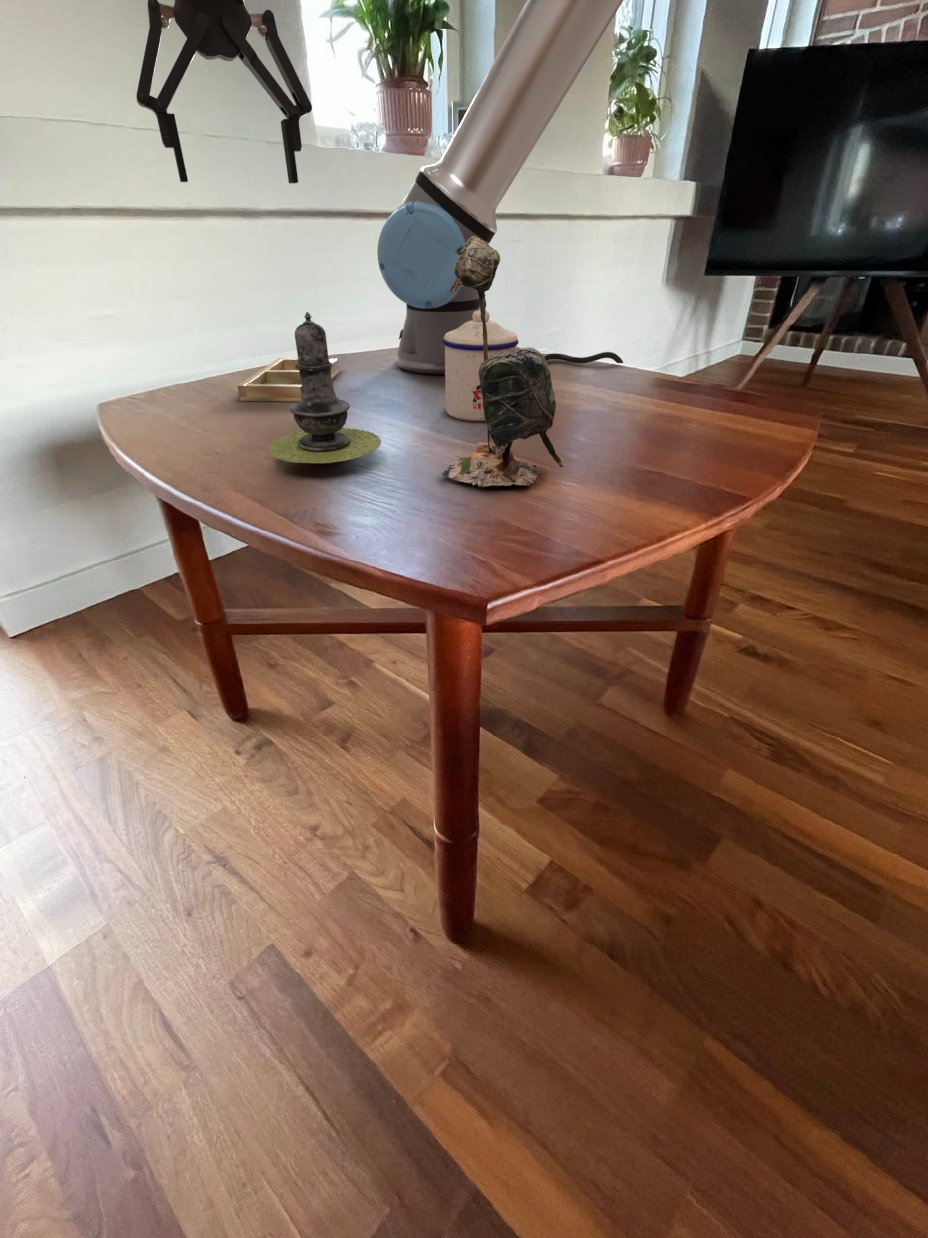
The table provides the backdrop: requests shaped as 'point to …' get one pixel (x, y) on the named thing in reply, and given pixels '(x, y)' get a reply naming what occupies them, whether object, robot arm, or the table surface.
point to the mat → (357, 447)
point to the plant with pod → (503, 390)
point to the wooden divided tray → (277, 382)
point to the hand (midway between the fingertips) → (240, 182)
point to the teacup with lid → (471, 364)
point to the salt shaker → (317, 392)
